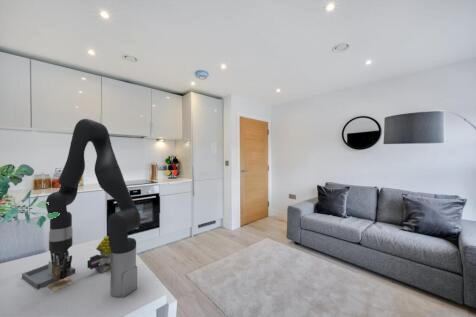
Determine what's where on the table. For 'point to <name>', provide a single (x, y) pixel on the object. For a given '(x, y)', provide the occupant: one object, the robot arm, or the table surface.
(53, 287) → the cork pad
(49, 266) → the sage block
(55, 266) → the walnut block
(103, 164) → the robot arm
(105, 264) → the toy
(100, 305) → the table surface
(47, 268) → the tray
